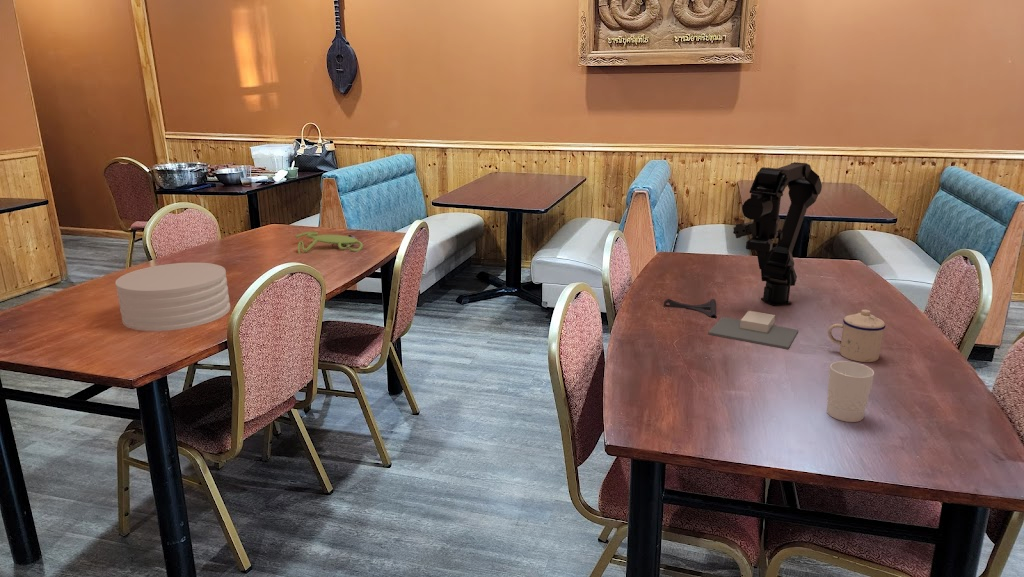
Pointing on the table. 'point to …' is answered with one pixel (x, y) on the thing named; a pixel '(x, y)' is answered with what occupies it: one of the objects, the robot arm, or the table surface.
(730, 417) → the table surface
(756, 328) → the tile
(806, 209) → the robot arm
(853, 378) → the white cup
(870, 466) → the table surface
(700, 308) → the bracket
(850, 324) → the teacup with lid
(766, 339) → the mat
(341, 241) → the figurine
